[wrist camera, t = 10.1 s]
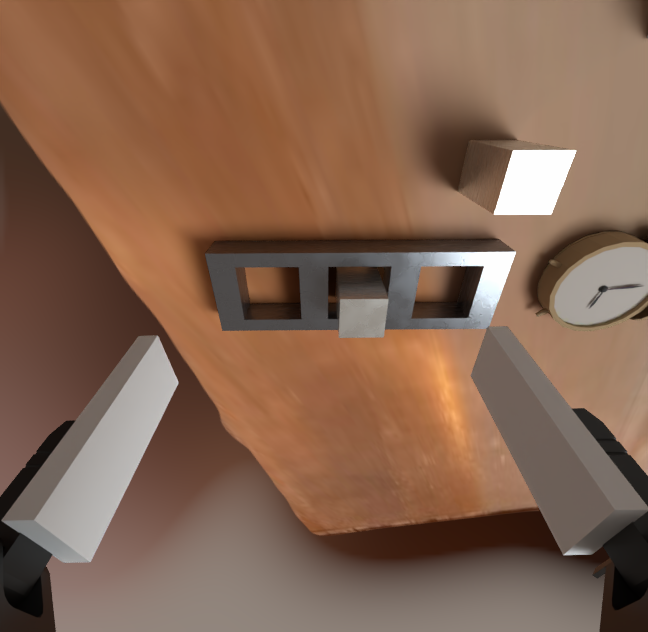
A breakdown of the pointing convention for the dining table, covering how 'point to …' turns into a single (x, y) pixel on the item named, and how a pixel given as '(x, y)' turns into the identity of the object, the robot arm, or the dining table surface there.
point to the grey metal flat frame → (394, 255)
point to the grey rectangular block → (360, 302)
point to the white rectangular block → (514, 175)
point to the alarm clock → (597, 282)
